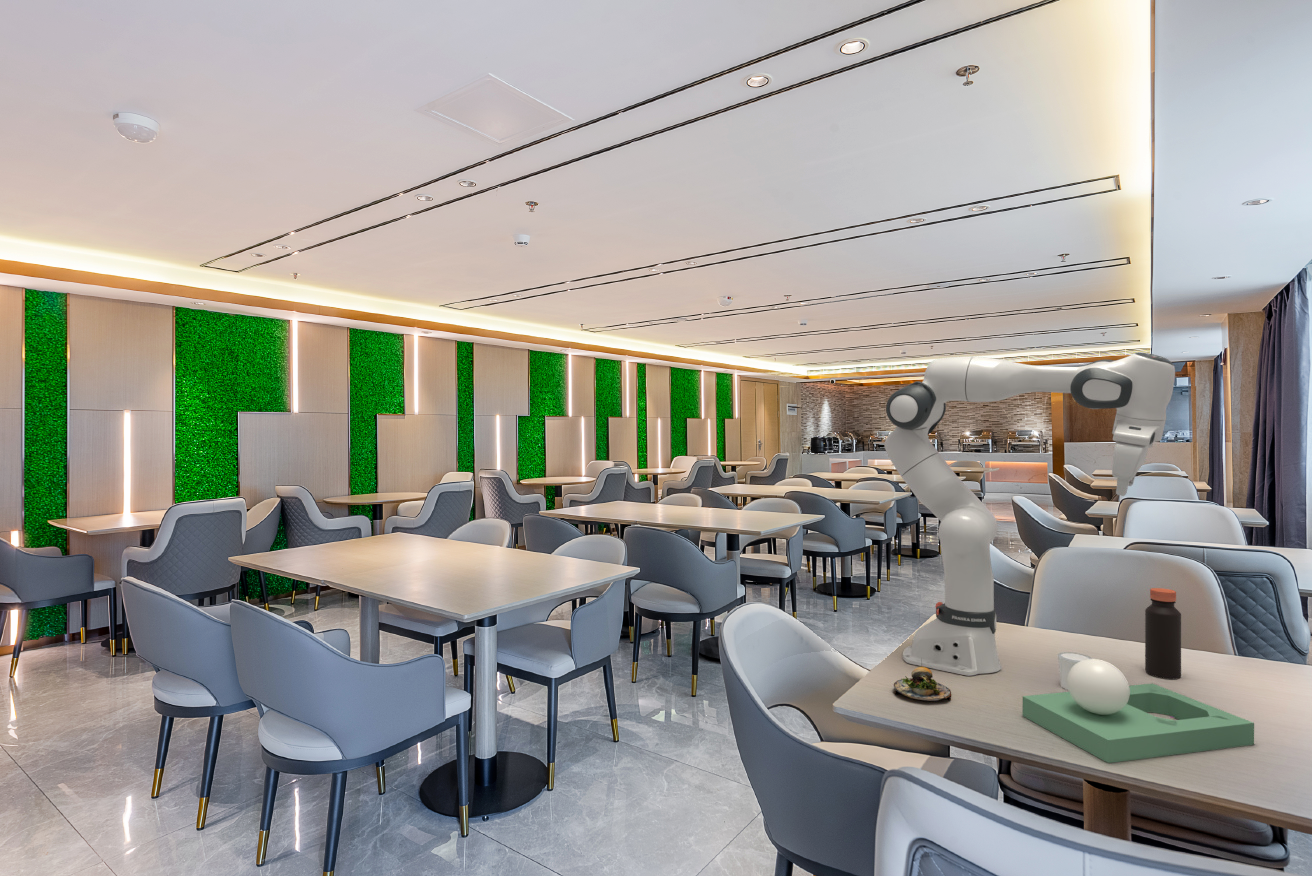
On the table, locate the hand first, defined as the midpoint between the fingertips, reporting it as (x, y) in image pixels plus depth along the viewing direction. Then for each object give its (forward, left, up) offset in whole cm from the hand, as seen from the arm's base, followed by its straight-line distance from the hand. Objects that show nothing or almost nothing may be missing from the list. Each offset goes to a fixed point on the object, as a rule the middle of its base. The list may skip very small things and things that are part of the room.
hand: (1124, 489), depth 149 cm
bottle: (+10, +16, -45) cm, 49 cm away
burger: (-39, -23, -45) cm, 64 cm away
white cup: (-9, -3, -45) cm, 46 cm away
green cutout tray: (-1, -23, -45) cm, 50 cm away
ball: (-8, -28, -36) cm, 46 cm away
